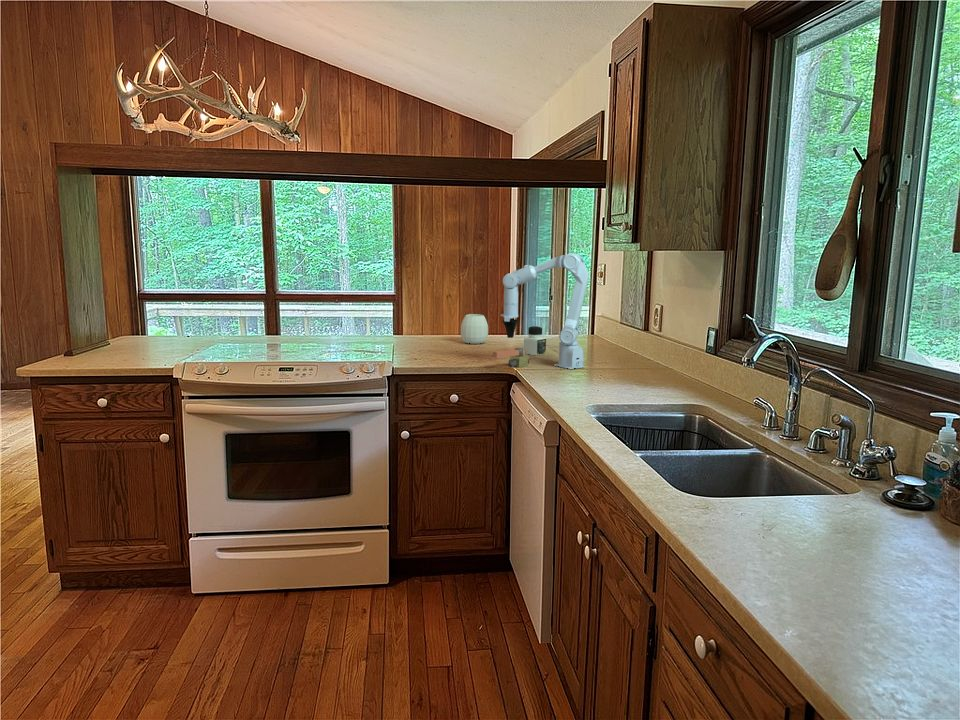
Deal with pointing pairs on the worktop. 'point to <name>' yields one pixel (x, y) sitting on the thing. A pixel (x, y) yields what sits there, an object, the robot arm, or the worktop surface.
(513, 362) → the valve
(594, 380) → the worktop surface
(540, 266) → the robot arm
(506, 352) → the lever
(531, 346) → the medicine bottle
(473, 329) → the cup
